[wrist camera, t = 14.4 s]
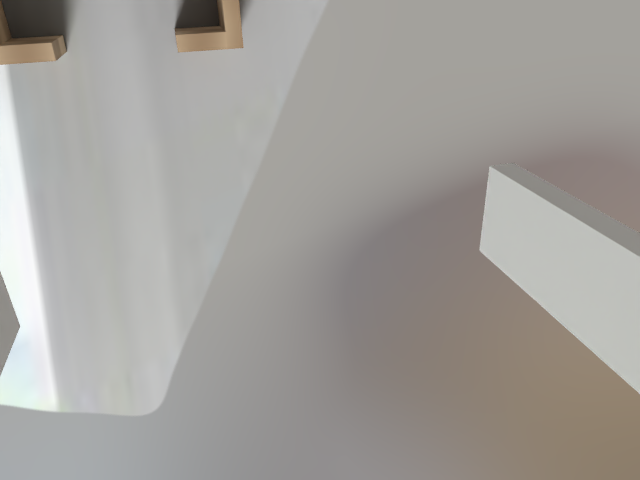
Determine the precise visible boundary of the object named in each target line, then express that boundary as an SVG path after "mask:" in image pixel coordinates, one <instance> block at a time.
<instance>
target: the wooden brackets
mask: <svg viewBox="0 0 640 480" xmlns="http://www.w3.org/2000/svg"><path fill="white" fill-rule="evenodd" d="M217 6H218V15H219V24H220V26H210V27H193V28H176V29H175V35H176V41H177V48H178V52H191V51H205V50H220V49H234V48H243V38H242V28H241V17H240V6H239V0H217ZM66 52H67V51H66V47H65V43H64V38H63V35H60V36H43V37H26V38H12V37H11V34H10V30H9V27H8V23H7V20H6V16H5V12H4V9H3V5H2V2H1V0H0V65H3V64H17V63H32V62H46V61H56V60H57V59H59V58H60V57H61V56H62V55H63V54H65V53H66Z"/></svg>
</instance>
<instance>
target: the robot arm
mask: <svg viewBox="0 0 640 480" xmlns="http://www.w3.org/2000/svg"><path fill="white" fill-rule="evenodd" d="M480 252H482V253H483V254H484V255H485V256H486V257H487V258H488V259H489V260H490V261H492V262H493V263H494V264H495V265H496V266H497V267H498V268H499V269H501V270H502V271H503V272H504V273H505V274H506V275H508V277H510V278H511V279H512V280H513V281H514V282H515V283H516V284H517V285H518V286H520V287H521V288H522V289H523V290H524V291H525V292H526V293H527V294H529V295H530V296H531V297H532V298H533V299H534V300H535V301H536V302H538V303H539V304H540V305H541V306H542V307H543V308H544V309H545V310H547V311H548V312H549V313H550V314H551V315H552V316H553V317H554V318H555V319H557V320H558V321H559V322H560V323H561V324H562V325H563V326H564V327H566V328H567V329H568V330H569V331H570V332H571V333H572V334H573V335H574V336H576V337H577V338H578V339H579V340H580V341H581V342H582V343H584V344H585V345H586V346H587V347H588V348H589V349H590V350H591V351H593V352H594V353H595V354H596V355H597V356H598V357H599V358H600V359H602V361H604V362H605V363H606V364H607V365H608V366H609V367H610V368H611V369H613V370H614V371H615V372H616V373H617V374H618V375H619V376H620V377H622V378H623V379H624V380H625V381H626V382H627V383H628V384H629V385H630V386H632V387H633V388H634V389H635V390H636V391H637V392H638V393H639V394H640V233H639V232H637V231H635V230H633V229H631V228H630V227H628V226H626V225H624V224H622V223H620V222H619V221H617V220H615V219H613V218H612V217H610V216H608V215H606V214H604V213H603V212H601V211H599V210H597V209H595V208H594V207H592V206H590V205H588V204H586V203H585V202H583V201H581V200H579V199H577V198H576V197H574V196H572V195H570V194H568V193H566V192H565V191H563V190H561V189H559V188H558V187H556V186H554V185H552V184H550V183H548V182H547V181H545V180H543V179H541V178H540V177H537V176H536V175H534V174H532V173H530V172H528V171H527V170H525V169H523V168H521V167H520V166H518V165H516V164H514V163H510V164H502V165H494V166H490V168H489V175H488V184H487V192H486V200H485V209H484V217H483V225H482V234H481V242H480ZM19 328H20V325H19V322H18V319H17V316H16V314H15V311H14V308H13V305H12V302H11V300H10V297H9V294H8V291H7V289H6V286H5V283H4V280H3V278H2V275H1V272H0V375H1V372H2V370H3V367H4V365H5V363H6V360H7V358H8V355H9V353H10V350H11V348H12V345H13V343H14V340H15V338H16V335H17V333H18V330H19Z"/></svg>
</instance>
